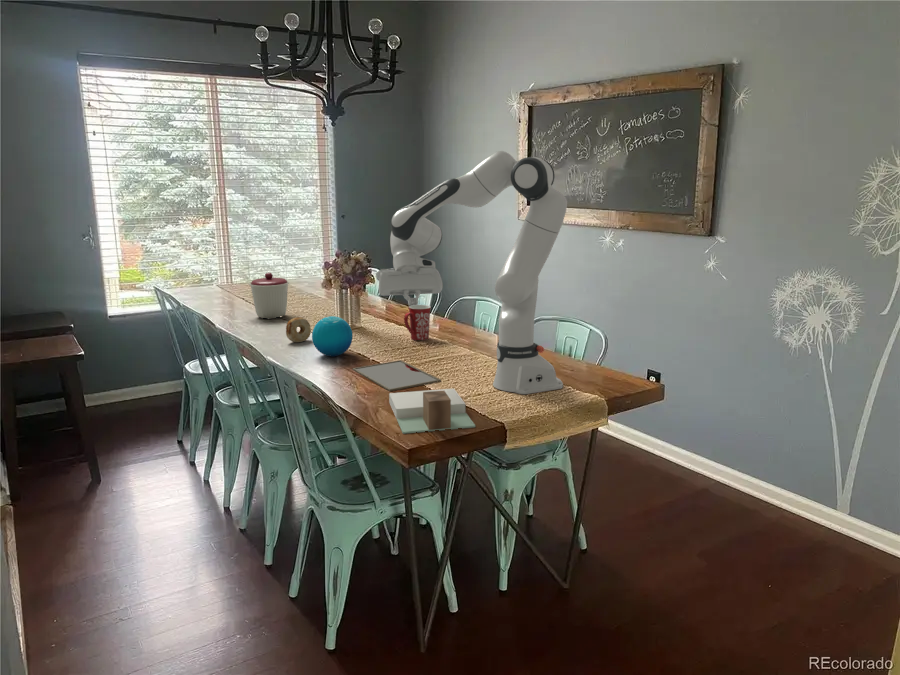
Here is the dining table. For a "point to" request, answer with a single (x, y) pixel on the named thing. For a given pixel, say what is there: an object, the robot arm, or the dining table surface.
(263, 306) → the canister
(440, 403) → the walnut block
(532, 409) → the dining table surface
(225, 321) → the dining table surface
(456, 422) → the mat
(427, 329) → the mug
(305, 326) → the stone disc
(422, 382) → the picture frame
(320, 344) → the decorative orb
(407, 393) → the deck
